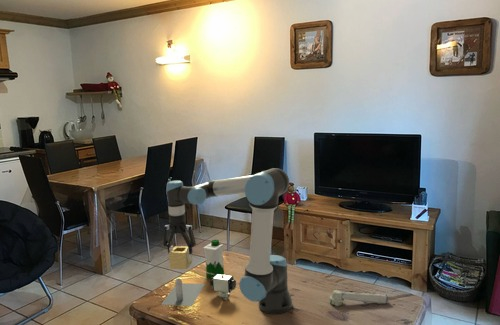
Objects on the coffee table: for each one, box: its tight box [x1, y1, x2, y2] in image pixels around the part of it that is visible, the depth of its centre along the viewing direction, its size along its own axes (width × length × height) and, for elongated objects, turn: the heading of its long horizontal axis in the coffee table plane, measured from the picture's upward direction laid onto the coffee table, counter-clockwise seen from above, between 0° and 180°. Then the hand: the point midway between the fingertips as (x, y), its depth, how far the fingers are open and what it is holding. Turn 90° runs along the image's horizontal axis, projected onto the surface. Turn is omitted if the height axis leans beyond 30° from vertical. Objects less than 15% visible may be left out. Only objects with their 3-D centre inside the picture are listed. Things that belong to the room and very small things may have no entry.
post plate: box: [160, 278, 206, 307], centre depth 194 cm, size 15×22×12 cm
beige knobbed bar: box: [329, 289, 389, 307], centre depth 180 cm, size 5×7×25 cm
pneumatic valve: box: [209, 273, 237, 301], centre depth 191 cm, size 6×12×12 cm, turn 68°
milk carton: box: [203, 239, 225, 279], centre depth 212 cm, size 9×9×20 cm
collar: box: [168, 245, 193, 270], centre depth 191 cm, size 8×8×8 cm
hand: (180, 260), depth 191 cm, fingers closed on collar, 8 cm apart
